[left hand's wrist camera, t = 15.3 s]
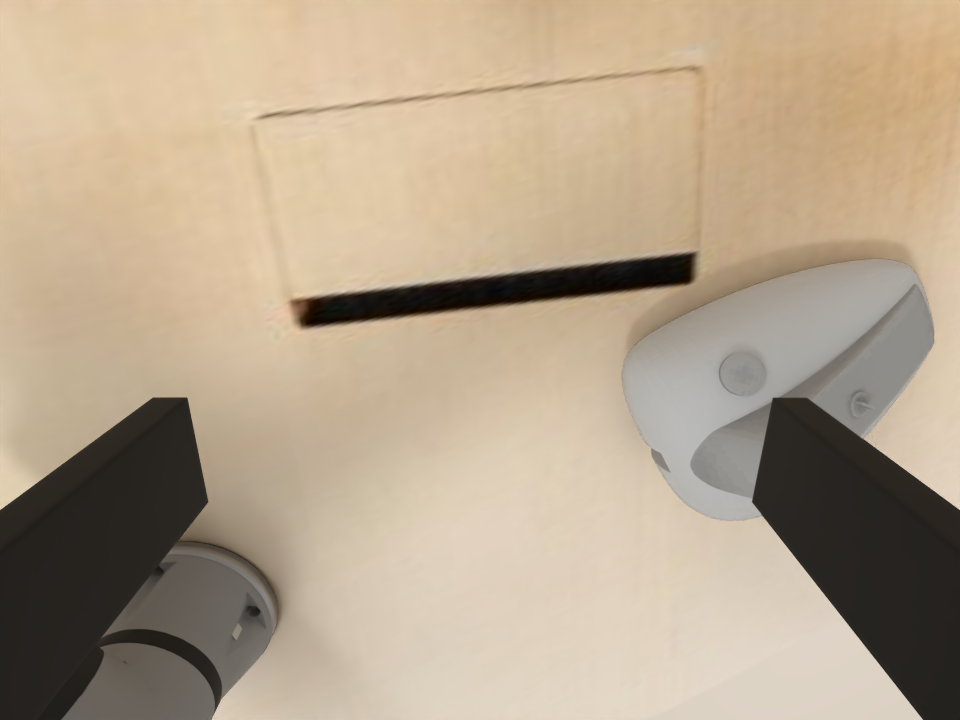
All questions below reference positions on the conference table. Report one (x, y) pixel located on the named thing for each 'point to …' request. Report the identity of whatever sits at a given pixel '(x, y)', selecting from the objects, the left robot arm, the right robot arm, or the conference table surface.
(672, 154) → the conference table surface
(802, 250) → the conference table surface
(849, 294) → the projector
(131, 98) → the conference table surface
